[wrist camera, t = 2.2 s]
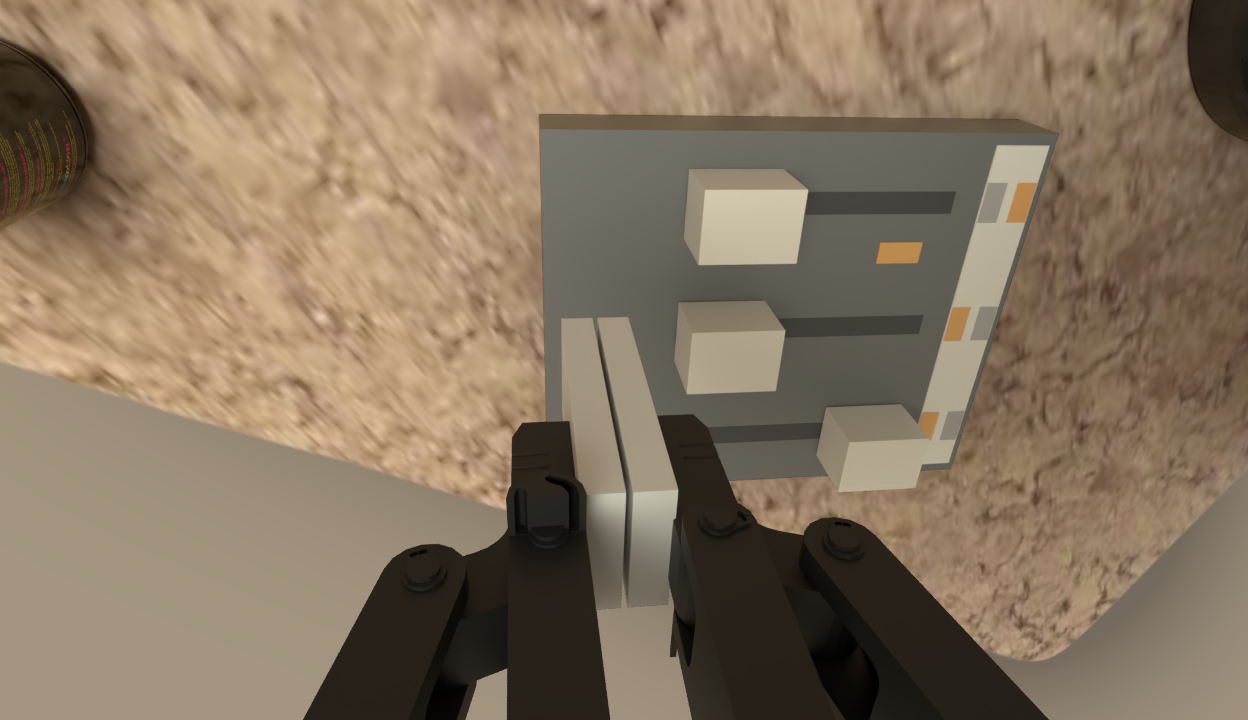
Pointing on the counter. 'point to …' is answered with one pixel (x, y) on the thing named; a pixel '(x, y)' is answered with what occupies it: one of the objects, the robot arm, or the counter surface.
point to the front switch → (744, 216)
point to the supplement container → (36, 138)
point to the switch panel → (798, 263)
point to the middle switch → (728, 347)
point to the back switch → (871, 447)
